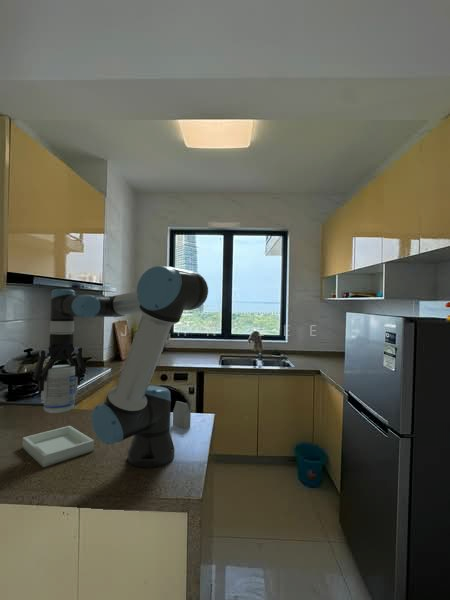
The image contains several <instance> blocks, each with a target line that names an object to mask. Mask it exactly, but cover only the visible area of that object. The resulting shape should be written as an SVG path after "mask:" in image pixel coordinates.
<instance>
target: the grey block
mask: <svg viewBox="0 0 450 600" xmlns="http://www.w3.org/2000/svg"><path fill="white" fill-rule="evenodd" d="M191 415H192V413H191V410H190V406H189V403H187V402H183V401H179V400H176V401H175V404H174V408H173V410H172V427H176V428H179V429H182V430H187V429H189V428H191ZM188 427H189V428H188Z"/></svg>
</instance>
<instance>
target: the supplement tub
mask: <svg viewBox="0 0 450 600" xmlns="http://www.w3.org/2000/svg"><path fill="white" fill-rule="evenodd" d="M45 381H47V399H46V401H43V410H44V411H45V412H47V413H50V414H51V413H53V414H57V413H62V412H68V411H70V410H73V408H74V407H75V396H76V395H75V366H70V365H69V364H57V365H55V364H54V365H53V367H52V368H51V369H49V371H48V375H47V377H46V379H45Z"/></svg>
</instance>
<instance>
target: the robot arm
mask: <svg viewBox="0 0 450 600" xmlns="http://www.w3.org/2000/svg"><path fill="white" fill-rule="evenodd" d="M208 294H209V286H208V283H207V281H206V279H205V278H204V277H203V276H202V275H201V274H199V273H197V272H196V271H193V270H187V269H182V268H177V267H173V266H169V265H166V266H165V265H164V266H163V265H155V266H153V267H151V268H149V269H147V270H146V271H144V272H143V273H142V274H141V276H140V278H139V280H138V282H137V285H136V291H132V292H126V293H120V294H116V295H111V296H108V295H107V296H104V295H91V294H76V291H75V290H73V289H67V288H66V289H65V288H56V289H53V290H52V291H51V294H50V295H51V298H50V318H49V319H50V322H49V332H50V334H49V343H48V344H49V347H48V348H47V349H44V350H43V349H39V350H38V359H37V362H36V365H35V368H34V372H33V375H32V380H34V381H36V382H37V381H38V391H39V392H40V393H41V394H40V400H41V401H43V402H44V401H46V399H47V381H45V379H46V377H47V375H48V371H49V369H51V368H52V367H53V366H55V364H56V363H57V361H61V360H63V361H64V360H65V361H66V363H68V365H70V366H75V396H78V386H80V385H81V377H83V376H82V375H84V374H86V373H87V370H86V367H85V363H84V358H83V347H79V346H78V347H75V346H74V341H75V340H74V339H75V338H74V337H75V336H74V335H75V334H74V332H75V318H83V319H85V318H87V319H88V318H102V317H103V318H107V317H108V318H109V317H110V318H121V317H124V316H127V315H132V314H139V313H141V314H142V315H141V317H140V321H139V323H138V326H137V329H136V332H135V334H134V337H133V340H132V342H131V345H130V348H129V351H128V353H127V357H126V359H125V361H124V364H123V367H122V370H121V373H120V376H119V378H118V381H117V383H116V386H113V387H112V388H110V389H109V390H108V393H107V396H106V397H105V401H104V402H103V403H99V404H98V405H96V406H94V407H93V410H92V413H91V417H90V418H91V426H92V429H93V432H94V434H95V436H96V437H97V439H98V440H99V441H100V442H101V443H103V444H105V445H114V444H117V443H120V442H122V441H124V440H126V439H128V438H131V437H132V440H131V443H130V445H129V449H128V452H127V461H128V463H129V464H130V465H132V466H134V467H136V468H144V469H145V468H146V469H147V468H151V469H152V468H157V467H161V466H164V465H167V464H169V463H170V462H171V461H173V460H174V457H175V445H174V443H173V439H172V436H171V433H170V432H171V430H170V429H171V428H170V427H171V406H172V405H171V402H172V399H171V390H169V389H168V388H167V387H163V386H159V385H150V383H151V380H152V378H153V375H154V372H155V370H156V369H157V365H158V362H159V360H160V357H161V354H162V352H163V350H164V346H165V344H166V341H167V339H168V336H169V334H170V331H171V328H172V326H173V325H175V324H178V323H179V322H180V321H181V318H182V315H183V313H184V311H192V310H196V309H198V308H200V307H201V306H202V305H203V304H204V303H205V302H206V300H207V298H208V296H209V295H208ZM73 352H74V354H75V357H76V361H74V359H73V356H72V354H73ZM48 354H49V355H50V357H49V358H48V361H47V362H46V365H45V367H44V364H45V360H46V357H47V355H48ZM76 362H77V364H76ZM43 367H44V368H43Z"/></svg>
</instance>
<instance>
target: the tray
mask: <svg viewBox="0 0 450 600" xmlns="http://www.w3.org/2000/svg"><path fill="white" fill-rule="evenodd" d="M22 449H23V450H24V451H25V452H26V453H27V454H28V455H29V456H31V457H32V459H34V460H35V462H37V463H38V464H39V465H40V466H41V467H42V468H46V467H49V466H52V465H56V464H58V463H60V462H64V461H68V460H71V459H73V458H77V457H79V456H83V455H85V454H88V453H91V452H94V451H95V439H93V438H91V437H90V436H88V435H86V434H84V433H82V432H81V431H80V430H78V429H76V428H75V427H73V426H71V425H66V426H62V427H60V428H55V429H51V430H47V431H43V432H40V433H36V434H35V433H34V434H31V435H28V436H24V437H22Z"/></svg>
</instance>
